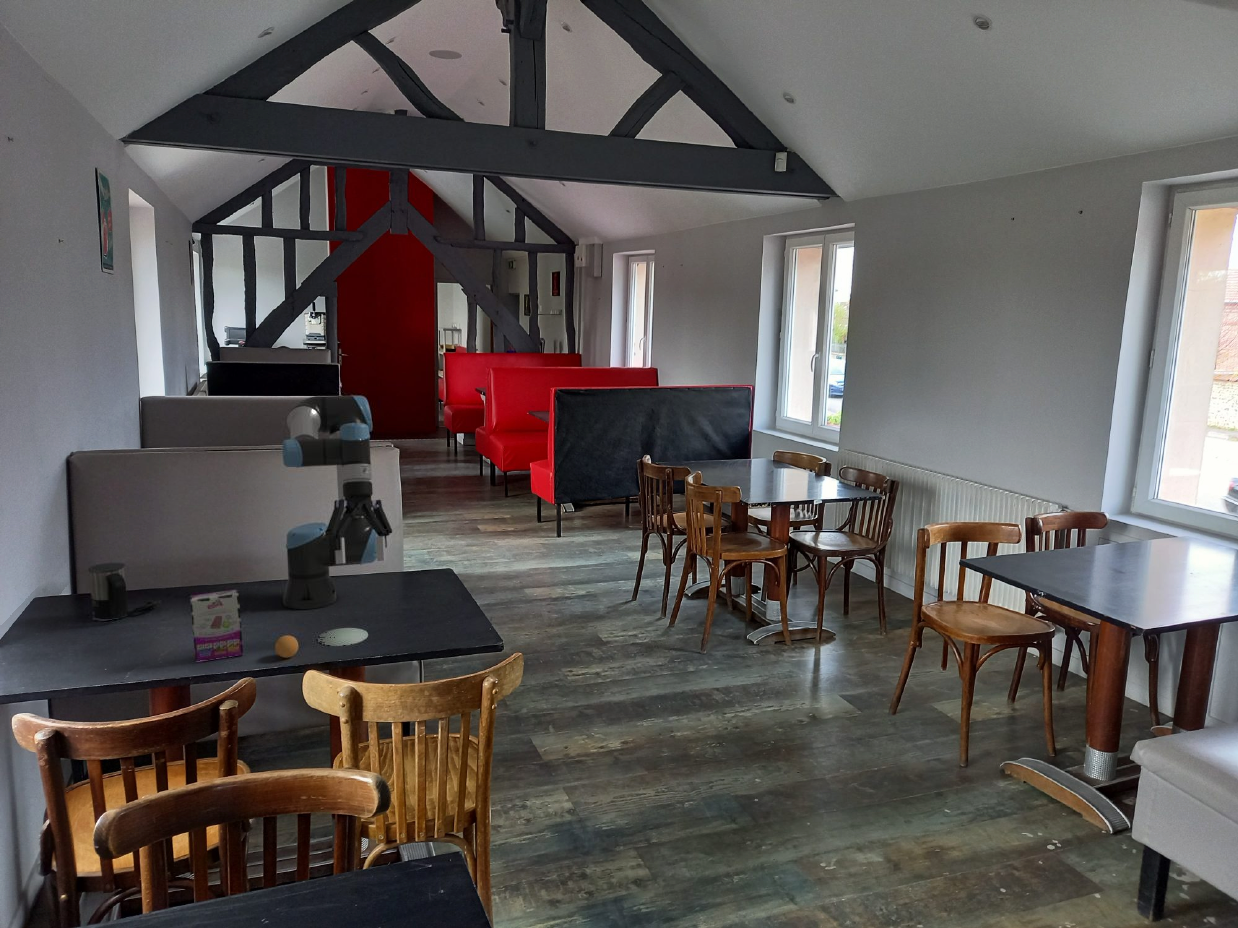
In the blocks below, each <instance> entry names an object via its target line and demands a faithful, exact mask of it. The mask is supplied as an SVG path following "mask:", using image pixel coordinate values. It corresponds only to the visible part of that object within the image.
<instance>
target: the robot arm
mask: <svg viewBox="0 0 1238 928" xmlns="http://www.w3.org/2000/svg"><path fill="white" fill-rule="evenodd" d="M288 411H289V412H288V414H287V416H286V417H287V418H286V425H287V427H288V429H289V431H290V439H284V440H283V441H282V462H283V465H284V466H285V467H287V468H307V467H324V466H325V467H326V466H328V467H331V466H333V467H334V466H336V481H337V483H336V484H337V499H335V500H334V504H333V511H332V514H331V516H330V518H329V522H328V525H327V523H325V522H313V523H311V522H310V523H306V524H301V525H298V526H295V527H293V528H291V529H290V530H288V532H287V534H286V544H285V548H286V552H287V553H286V554H287V559H286V560H287V577H288V578H287V581H286V586H285V590H284V593H283V595H282V601H283V602H282V603H283V606H285V607H286V608H289V609H294V610H312V609H319V608H323V607H327V606H329V605H331V604H334V603H335V602H336V601H337V591H336V588H335V586H334V584H333V580H332V578H331V576H330V567H341V566H342V567H343V566H344V567H345V566H355V565H360V566H362V565H366V564H372V563H374V562H375V561H377V562H382V561H383V562H385V561H387V551H386V549H387V548H388V547H387V546H388V543H387V542H388V541H387V536H390V534H393V528H392V526H391V525H390V522H389V520H388V518H387V515H386V513H385V511H384V509H383V504H382V499H376V500H372V496H373V494H374V493H373V490H374V489H373V483H372V481H371V480H372V478H373V477H372V463H371V461H372V460H371V442H370V441H371V435H370V432H373V421H372V413H371V412H372V411H371V409H370V404H369V401H368V399H367V398H366V397H365V396H363V395H353V394H350V395H323V396H322V395H316V396H310V397H307V398H304V399H303V400H301V401H299V402H297V403H296V404H294V406H292V408H291V409H290V410H288ZM319 434H329V438H319Z"/></svg>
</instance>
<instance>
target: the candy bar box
mask: <svg viewBox="0 0 1238 928" xmlns="http://www.w3.org/2000/svg"><path fill="white" fill-rule="evenodd" d="M189 602H190V603H189V605H190V615H191V616H190V617H191V625H192V626H191V627H192V639H193V649H194V650H193V651H194V661H200V660H210V659H216V658H222V657H229V656H235V655H243V656H244V645H243V633H242V630H243V629H242V620H241V606H240V605H241V604H240V596H239V591H238V589H230V590H224V591H223V590H221V591H215V592H209V593H207V592H206V593H200V594H199V593H198V594H193V595H192V594H191V595H190V596H189Z"/></svg>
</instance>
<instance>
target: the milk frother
mask: <svg viewBox="0 0 1238 928" xmlns="http://www.w3.org/2000/svg"><path fill="white" fill-rule="evenodd" d="M125 565H126V564H125V563H123V562H106V563H100V564H95V565H91V566H89V567H88V568H87V571H88V577H89V586H90V587H89V588H90V595H91V604H92V605H91V606H92V617H93V616H94V617H95V618H99V619H113V618H120V617H122V616H125V615H128V614H129V615H130V614H132V613H135V612H138V611H141V610H144V609H147V608H148V610H149V609H151V608H154V607H155V608H156V607H157V606H158V605H160V604H162V600H153V599H151V600H147V601H146V602H145V604H144V605H140V606H137V607H136V608H134V609H132V610H129V606H128V598H127V584H126V576H125V575H126V574H125ZM155 608H154V609H155ZM151 610H152V609H151ZM129 615H128V616H129Z"/></svg>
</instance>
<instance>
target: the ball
mask: <svg viewBox="0 0 1238 928" xmlns="http://www.w3.org/2000/svg"><path fill="white" fill-rule="evenodd" d="M274 645H275V647H274V648H275V649H274V650H275V652H276V654H277V655H278V656H279V657H281V658H286V659H287V658H291V657H293V656H295V654H296V653H297V651H298V650H299V643H298V640H297V638H295V637H294V636H292V635H287V634H286V635H282V636H281V637H279V638H278V639H277V640H276V642H275V644H274Z"/></svg>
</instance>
